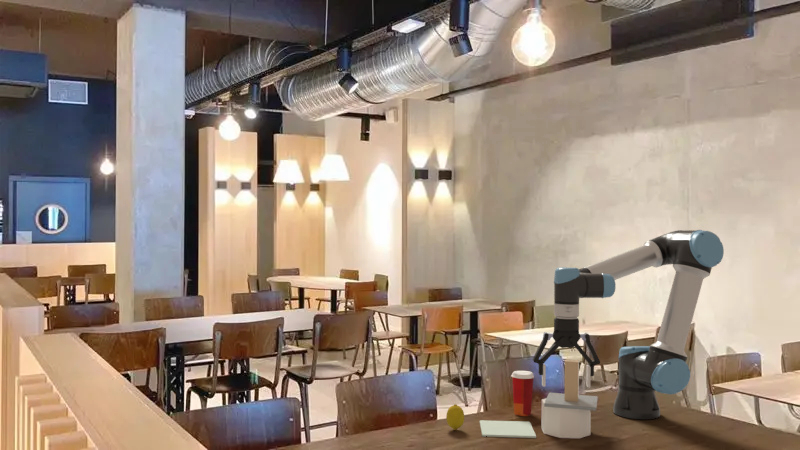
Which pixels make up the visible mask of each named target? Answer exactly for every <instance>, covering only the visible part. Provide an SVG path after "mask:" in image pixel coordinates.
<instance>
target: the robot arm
mask: <svg viewBox="0 0 800 450" xmlns="http://www.w3.org/2000/svg"><path fill="white" fill-rule="evenodd" d="M724 250H725V249H724V245H723V243H722V241H721V239H720V237H719V236H718V235H717V234H716V233H714V232H712V231H709V230H702V229H696V230H693V229H691V230H682V229H681V230H680V229H679V230H673V231H670V232H666V233H664V234H662V235H660V236H657V237H655V238H652V239H649V240H646V241H645V242H644V243H643V245H641V246H639V247H636V248H634V249H630V250H628V251H625V252H622V253H620V254H617V255H614V256H611V257H608V258H606V259H604V260H600V261H598V262H595V263H592V264H589V265H587V266H584V267H581V268H577V267H567V266H566V267H565V266H563V267H557V268H555V270H554V277H553V278H554V280H553V283H554V284H553V285H554V286H553V287H554V289H553V290H554V291H553V292H554V293H553V295H554V296H553V299H554V301H553V303H554V305H553V315H554V318H553V333H550V332H546V331H545V332H543V335H542V336H543V337H542V340H541V342H540V344H539V346H538V348H537V349H536V351H535V353H534V356H533V357H532V361H533V363H535V364H537V365H538V372H537V373H538V375H539V376H541V386H542V387H543V388H544V387H545V388H546V382H547V381H546V379H547V378H546V377H547V376H546V373H547V372H546V369H547V366H546V362H547V360H548V359H549V358H550V357H551V356H552V354H554V352H555V351H557V349H558V348H561V349H566V348H568V349H572V348H575V349H576V350H577V352H579V354H580V355H581V356H582V357H583V358H584V360H585V361H586V363H588V364H586V366H585V367H586V371H585V375H586V376H585V381H586V382H585V386H586V387H587V388H589V389H591V377H594V376H595V366H596V365H600V364H601V360H600V358H599V357H598V354H597V353H596V350H595V348H594V346H593V345H592V343H591V337H590V334H589V333H588V332H585V333H580V319H579V316H580V299H584V298H585V299H586V298H587V299H591V298H592V299H604V298H605V299H606V298H611V297H613V295H614V294H615V292H616V281H617V280H619V279H621V278H624V277H627V276H629V275H633V274H634V273H637V272H640V271H643V270H645V269H648V268H651V267H653V268H660V267H662V266H668V265H672V268H673V269H674V271H675V275H674V278H673V281H672V285H671V289H670V291H669V296H668V300H667V303H666V306H665V311H664V314H663V317H662V321H661V323H660V327H659V332H658V335H657V339H656V341H655V342H653V343H652V344H650V345H648V346H647V345H641V346H640V345H633V346H632V345H630V346H622V347H620V348H619V352H618V390H617V393H616V396H615V400H614V403H613V410H612V411H613V414H615V415H617V416H620V417H623V418H626V419H632V420H633V419H634V420H655V418H656V419H659V418H660V417H661V408H660V405H659V402H658V399H657V395H656V392H657V393H661V394H666V395H676V394H678V393H680V392H682V391H684V389H686V387H687V386H688V384H689V383H690V379H691V370H690V367H689V365H688V364H687V360H688V355H687V353H686V351H685V347H686V343H687V342H688V336H689V333H690V330H691V326H692V322H693V319H694V314H695V311H696V307H697V303H698V300H699V297H700V293H701V289H702V285H703V283H704V282H703V281H704V279H706V278H707V277H710V275H711V273H712V272H711V271H712V269H713V267H716V266H717V265H719V264H720V263H721V262H722V260H723V258H724ZM551 339H553V340H554V342H553V343H552V344H551V346H550V347H549V348H548V349H547V351H546V352H545V353H544V354H543V355H542V353H543V351H544V350H545V349H546V348H545V347H546V346H547V344H548V341H550V340H551ZM580 339H582V341H583V342H585V345H586V346H587V348H588V349H587V350H588V351H589V353H590V356H591V357H592V359H593V360H592V359H591V358H590V357H589V355H588V354H587V353H586V351H585V350H584V349H583V348H582V347H581V345H580V344H579V343H578V342H579V341H580ZM541 355H542V356H541ZM658 417H659V418H658Z"/></svg>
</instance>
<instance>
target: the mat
mask: <svg viewBox="0 0 800 450" xmlns="http://www.w3.org/2000/svg"><path fill="white" fill-rule="evenodd" d="M479 426H480V431H481V437H485V438H486V436H487V438H488V437H489V438H521V439H522V438H523V439H537V435H536V432H535V431H534V428H533V426H532V423H531V422H530V421H516V420H514V421H513V420H512V421H511V420H482V419H481V420H479Z"/></svg>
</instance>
